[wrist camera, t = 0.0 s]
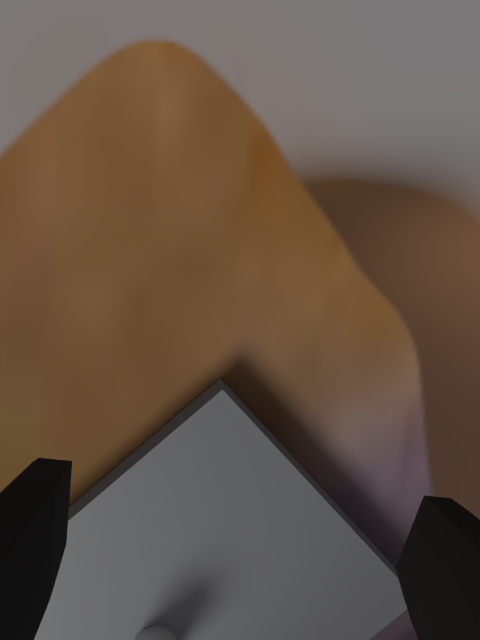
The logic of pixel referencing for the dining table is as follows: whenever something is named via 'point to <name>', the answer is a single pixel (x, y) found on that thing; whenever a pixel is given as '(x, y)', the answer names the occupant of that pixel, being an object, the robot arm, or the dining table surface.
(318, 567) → the post board
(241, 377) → the dining table surface
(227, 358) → the dining table surface
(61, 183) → the dining table surface
